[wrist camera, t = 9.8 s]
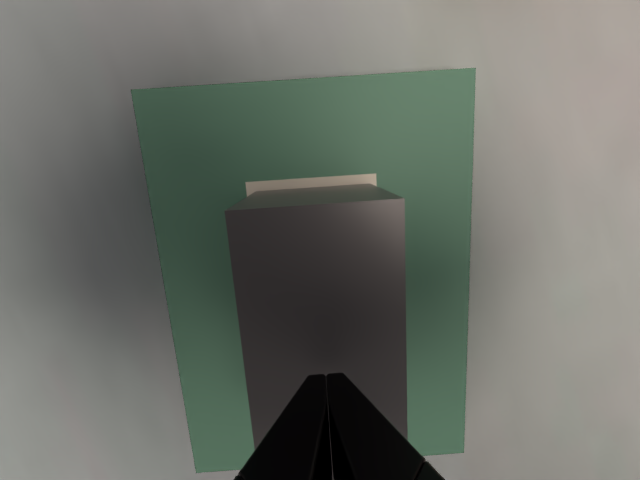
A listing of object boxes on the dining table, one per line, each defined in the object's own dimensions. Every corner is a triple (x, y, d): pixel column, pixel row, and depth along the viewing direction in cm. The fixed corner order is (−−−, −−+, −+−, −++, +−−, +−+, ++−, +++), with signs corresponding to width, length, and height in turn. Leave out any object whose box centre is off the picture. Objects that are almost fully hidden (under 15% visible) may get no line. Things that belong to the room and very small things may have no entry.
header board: (451, 428, 18) (497, 517, 13) (205, 446, 17) (170, 543, 13) (458, 77, 14) (525, 40, 10) (149, 96, 14) (75, 68, 10)
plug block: (377, 384, 15) (408, 492, 10) (277, 391, 15) (261, 503, 10) (369, 183, 13) (404, 197, 8) (256, 191, 13) (224, 211, 8)
